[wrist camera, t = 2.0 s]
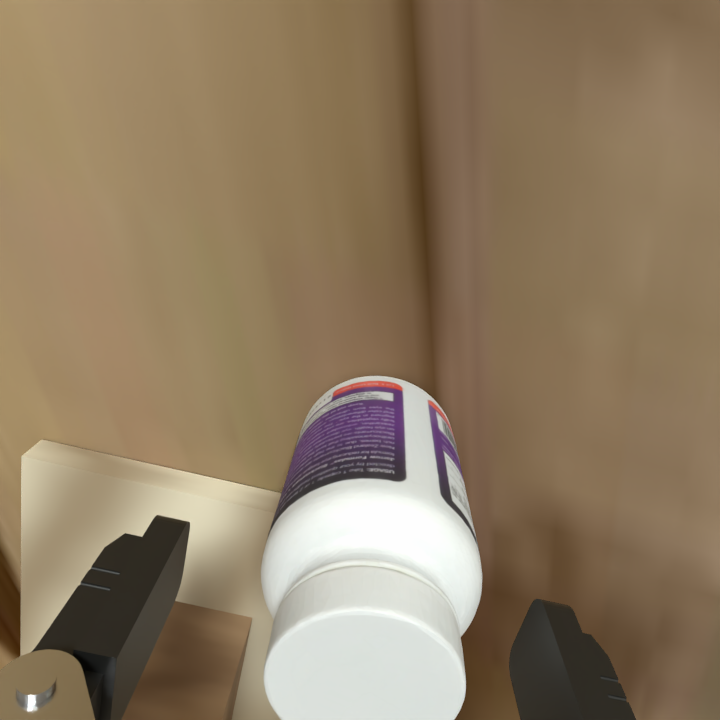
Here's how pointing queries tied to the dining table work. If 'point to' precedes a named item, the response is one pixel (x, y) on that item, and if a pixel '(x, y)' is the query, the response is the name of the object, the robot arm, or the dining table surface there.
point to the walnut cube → (192, 667)
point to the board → (133, 516)
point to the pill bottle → (371, 562)
